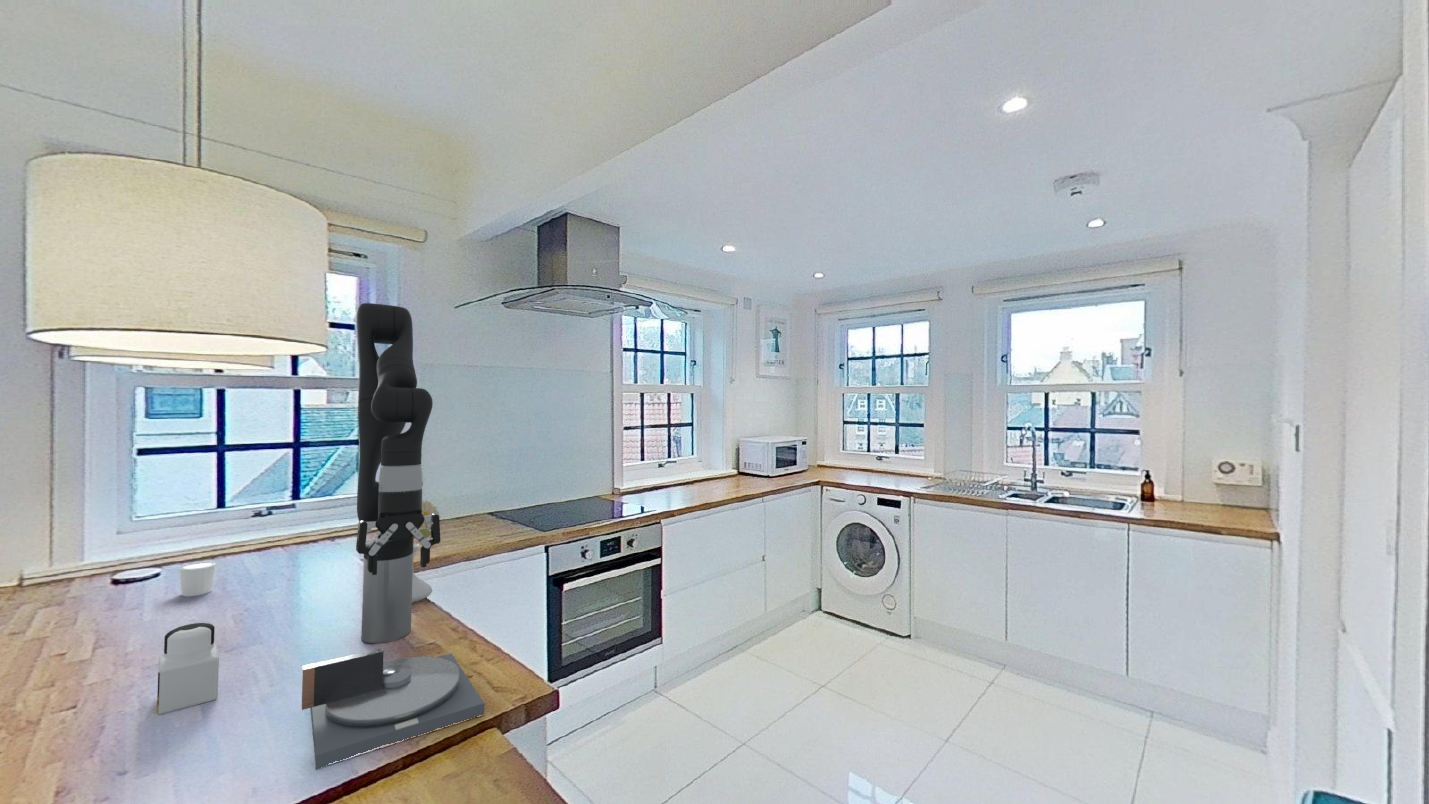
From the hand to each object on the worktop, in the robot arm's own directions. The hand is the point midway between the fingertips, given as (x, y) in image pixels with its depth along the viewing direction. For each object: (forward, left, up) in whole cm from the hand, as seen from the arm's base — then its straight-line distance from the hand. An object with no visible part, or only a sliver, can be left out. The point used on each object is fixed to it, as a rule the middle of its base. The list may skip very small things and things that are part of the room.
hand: (399, 570), depth 107 cm
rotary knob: (+20, -4, -15) cm, 25 cm away
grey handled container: (-3, -30, -18) cm, 35 cm away
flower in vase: (-35, +8, -18) cm, 40 cm away
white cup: (-70, -35, -18) cm, 81 cm away
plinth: (+20, -3, -17) cm, 26 cm away
